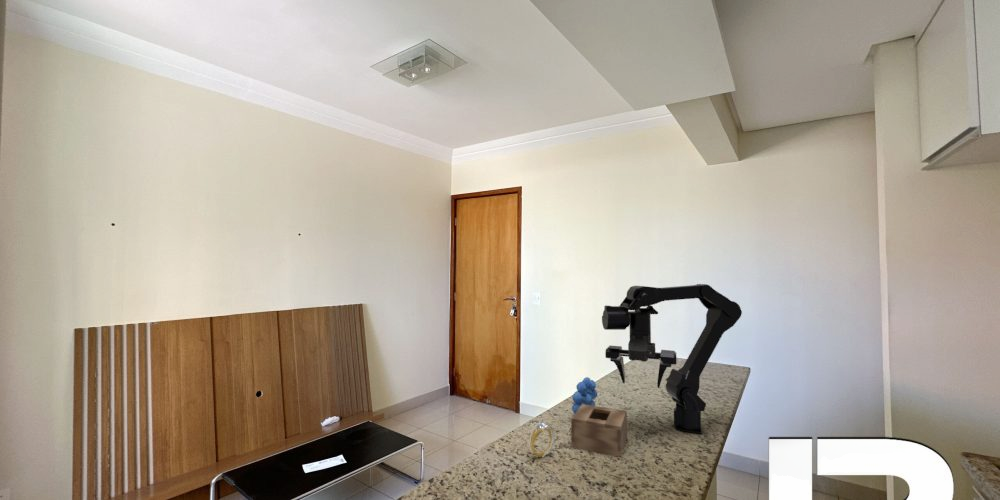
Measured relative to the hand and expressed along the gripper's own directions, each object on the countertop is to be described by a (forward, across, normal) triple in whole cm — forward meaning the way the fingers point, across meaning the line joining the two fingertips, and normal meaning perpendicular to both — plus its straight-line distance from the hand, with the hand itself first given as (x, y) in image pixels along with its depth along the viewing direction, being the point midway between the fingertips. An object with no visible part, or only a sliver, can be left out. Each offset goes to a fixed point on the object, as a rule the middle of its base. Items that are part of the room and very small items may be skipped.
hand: (640, 385), depth 109 cm
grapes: (+12, -17, +1) cm, 21 cm away
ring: (+12, -20, -28) cm, 37 cm away
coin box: (+12, -9, -14) cm, 21 cm away
